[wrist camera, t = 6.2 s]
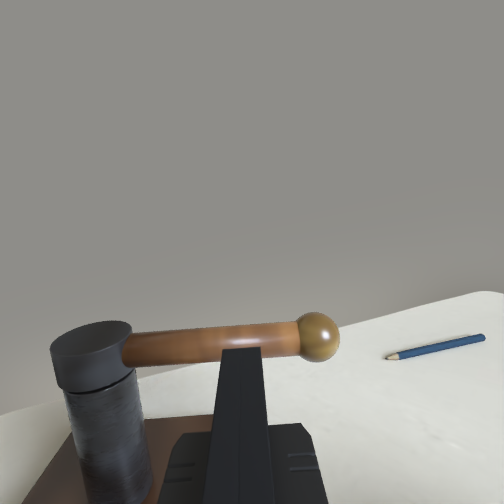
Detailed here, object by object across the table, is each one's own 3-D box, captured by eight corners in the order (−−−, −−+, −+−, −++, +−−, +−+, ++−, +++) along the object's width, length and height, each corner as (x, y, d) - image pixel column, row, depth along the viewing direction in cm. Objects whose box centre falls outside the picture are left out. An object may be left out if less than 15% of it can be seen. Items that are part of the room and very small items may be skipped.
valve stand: (-58, 648, 17) (-126, 476, 14) (79, 437, 30) (56, 332, 28) (208, 627, 17) (184, 452, 14) (224, 426, 30) (214, 320, 28)
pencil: (485, 341, 42) (387, 364, 39) (478, 338, 43) (382, 360, 40) (486, 335, 42) (387, 357, 38) (479, 332, 43) (382, 353, 39)
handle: (41, 401, 19) (29, 352, 18) (82, 357, 23) (74, 317, 23) (351, 378, 19) (350, 329, 18) (329, 339, 24) (329, 299, 23)
